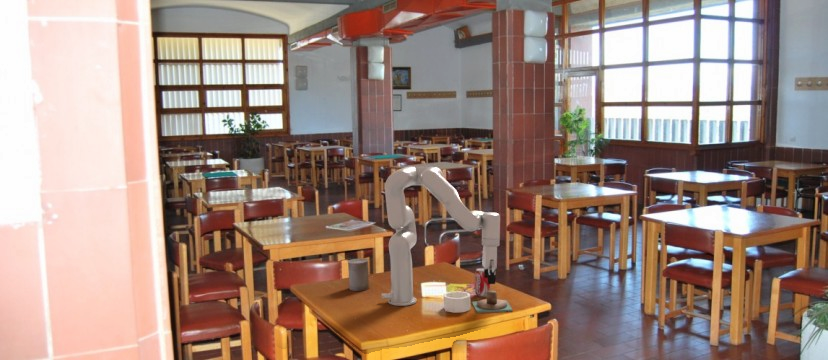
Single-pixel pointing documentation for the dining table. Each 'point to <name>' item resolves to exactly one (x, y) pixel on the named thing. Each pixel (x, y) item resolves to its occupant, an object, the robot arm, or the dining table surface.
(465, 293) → the ceramic bowl
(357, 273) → the pillar candle
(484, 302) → the walnut lid
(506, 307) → the rubber mat
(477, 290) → the soda can
